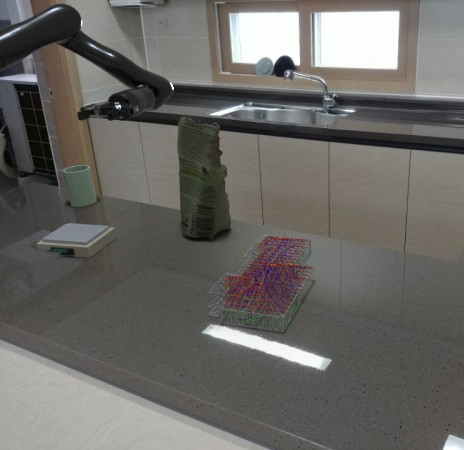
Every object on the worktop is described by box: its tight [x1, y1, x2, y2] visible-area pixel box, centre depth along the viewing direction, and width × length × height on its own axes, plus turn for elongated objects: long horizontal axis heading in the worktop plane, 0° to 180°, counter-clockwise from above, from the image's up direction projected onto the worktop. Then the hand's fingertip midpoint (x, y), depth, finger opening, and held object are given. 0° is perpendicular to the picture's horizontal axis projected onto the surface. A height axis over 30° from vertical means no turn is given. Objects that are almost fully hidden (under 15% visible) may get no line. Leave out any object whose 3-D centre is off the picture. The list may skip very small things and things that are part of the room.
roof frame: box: [207, 233, 316, 333], centre depth 94 cm, size 30×15×5 cm, turn 162°
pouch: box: [176, 116, 232, 240], centre depth 112 cm, size 11×12×25 cm
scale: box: [36, 222, 118, 259], centre depth 113 cm, size 12×10×3 cm
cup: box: [62, 164, 98, 208], centre depth 133 cm, size 6×6×10 cm
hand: (93, 116), depth 135 cm, fingers open, 8 cm apart
